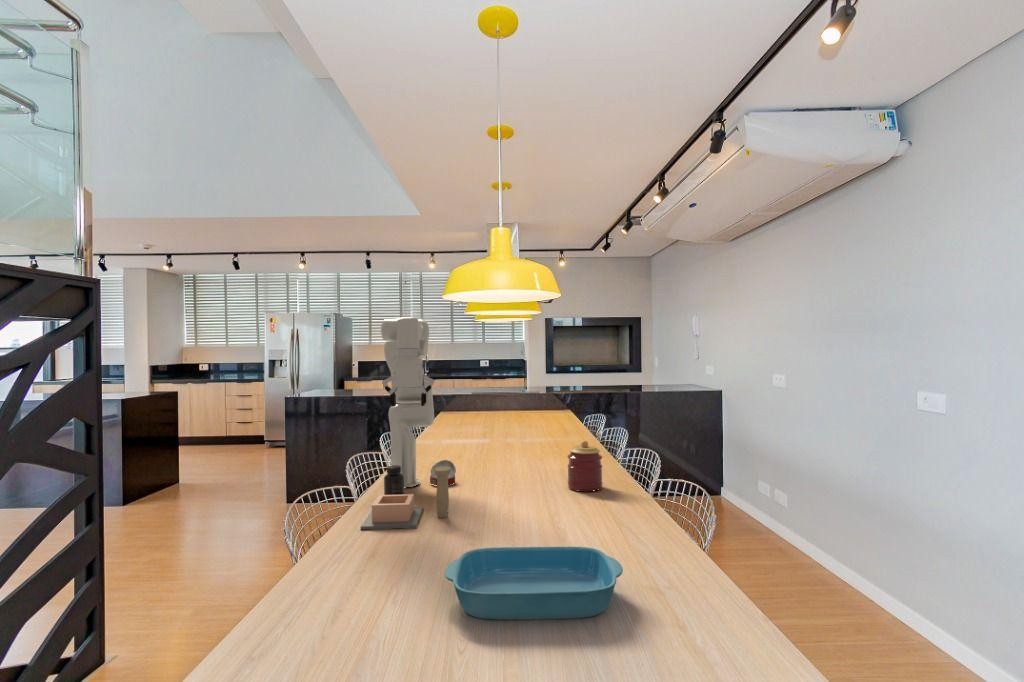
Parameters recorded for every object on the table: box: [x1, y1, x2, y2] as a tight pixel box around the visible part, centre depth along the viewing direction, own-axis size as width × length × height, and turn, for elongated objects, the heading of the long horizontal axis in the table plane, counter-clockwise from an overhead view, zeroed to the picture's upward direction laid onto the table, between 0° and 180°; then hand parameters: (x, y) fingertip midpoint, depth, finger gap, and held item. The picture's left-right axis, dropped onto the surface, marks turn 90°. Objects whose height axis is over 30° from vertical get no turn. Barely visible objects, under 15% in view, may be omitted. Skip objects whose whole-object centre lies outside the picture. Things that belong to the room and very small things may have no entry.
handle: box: [434, 466, 450, 519], centre depth 161 cm, size 5×6×15 cm
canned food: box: [429, 459, 457, 485], centre depth 202 cm, size 11×10×10 cm
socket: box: [360, 493, 424, 530], centre depth 159 cm, size 18×16×6 cm
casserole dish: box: [444, 546, 624, 620], centre depth 107 cm, size 37×22×7 cm, turn 90°
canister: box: [566, 440, 604, 492], centre depth 193 cm, size 13×13×18 cm
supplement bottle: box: [383, 465, 405, 495], centre depth 178 cm, size 7×7×12 cm
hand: (408, 405), depth 171 cm, fingers open, 9 cm apart
